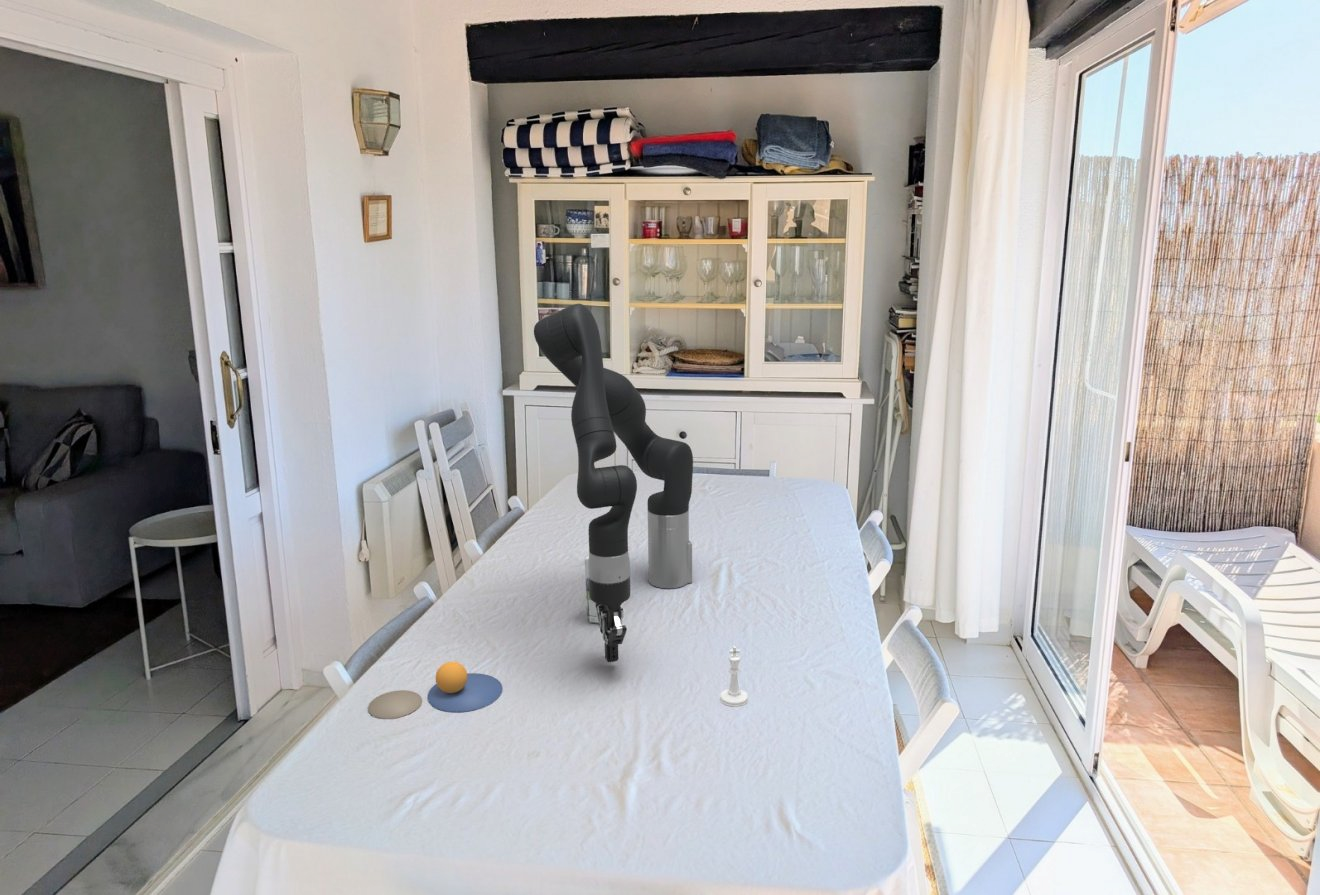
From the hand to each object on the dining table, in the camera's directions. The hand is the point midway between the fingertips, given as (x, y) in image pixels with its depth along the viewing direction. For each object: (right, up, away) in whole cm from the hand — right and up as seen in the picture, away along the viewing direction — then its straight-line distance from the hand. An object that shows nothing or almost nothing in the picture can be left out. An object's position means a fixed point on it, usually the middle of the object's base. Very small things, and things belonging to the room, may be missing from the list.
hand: (611, 659), depth 170 cm
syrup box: (-3, +4, +20) cm, 20 cm away
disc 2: (-26, -4, -8) cm, 27 cm away
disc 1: (-37, -5, -11) cm, 39 cm away
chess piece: (+22, -5, -11) cm, 25 cm away
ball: (-28, -1, -8) cm, 29 cm away
